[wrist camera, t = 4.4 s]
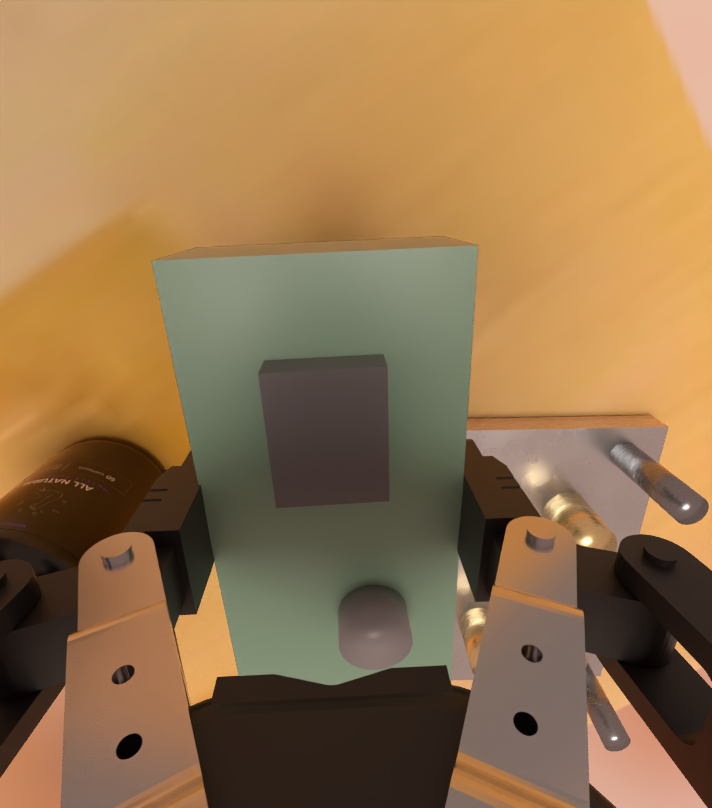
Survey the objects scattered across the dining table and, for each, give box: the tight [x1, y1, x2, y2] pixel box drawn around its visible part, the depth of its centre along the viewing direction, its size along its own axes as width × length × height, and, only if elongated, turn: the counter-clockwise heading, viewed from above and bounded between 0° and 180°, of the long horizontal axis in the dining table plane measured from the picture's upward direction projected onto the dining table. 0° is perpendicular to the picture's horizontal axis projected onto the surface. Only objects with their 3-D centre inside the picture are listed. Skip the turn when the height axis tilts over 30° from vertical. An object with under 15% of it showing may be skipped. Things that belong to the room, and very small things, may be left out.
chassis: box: [451, 415, 709, 751], centre depth 25 cm, size 18×13×6 cm
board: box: [152, 236, 478, 685], centre depth 12 cm, size 12×6×4 cm, turn 2°
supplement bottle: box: [0, 440, 163, 577], centre depth 20 cm, size 7×7×12 cm
